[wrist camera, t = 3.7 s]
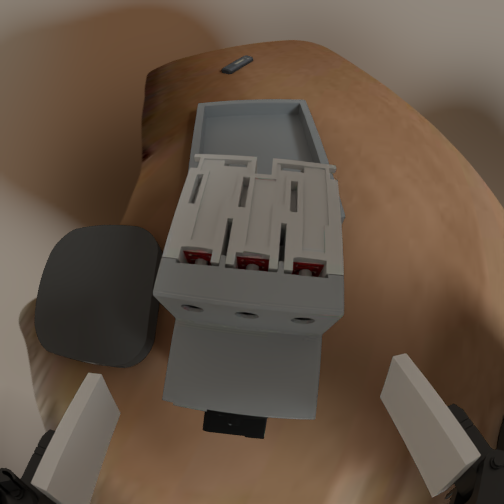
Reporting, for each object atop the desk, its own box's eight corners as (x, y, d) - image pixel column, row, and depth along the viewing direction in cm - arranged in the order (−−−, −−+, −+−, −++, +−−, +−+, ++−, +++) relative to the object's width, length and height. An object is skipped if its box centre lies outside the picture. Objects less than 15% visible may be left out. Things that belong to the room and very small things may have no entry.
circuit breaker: (199, 413, 21) (126, 441, 8) (222, 267, 28) (196, 150, 14) (285, 424, 20) (330, 470, 7) (298, 275, 27) (335, 162, 14)
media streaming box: (169, 236, 30) (162, 221, 27) (154, 373, 23) (142, 371, 20) (67, 239, 30) (55, 226, 27) (42, 351, 23) (26, 346, 20)
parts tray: (337, 232, 29) (345, 216, 27) (188, 240, 29) (182, 224, 26) (303, 115, 40) (305, 100, 37) (200, 118, 39) (198, 103, 37)
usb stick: (230, 76, 47) (230, 69, 46) (220, 74, 48) (219, 68, 47) (254, 61, 51) (254, 56, 50) (244, 59, 52) (244, 54, 50)
